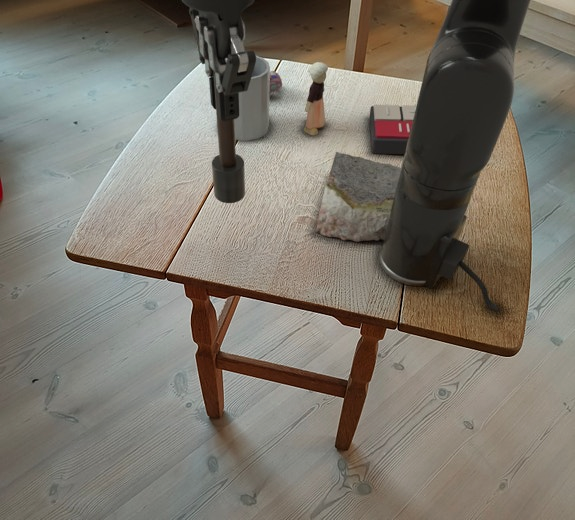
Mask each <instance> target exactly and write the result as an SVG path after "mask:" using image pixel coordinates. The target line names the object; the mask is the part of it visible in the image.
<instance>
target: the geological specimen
mask: <svg viewBox="0 0 575 520" xmlns="http://www.w3.org/2000/svg"><path fill="white" fill-rule="evenodd" d="M400 171H401V167H399V166H395V165H393V164H391V163H383V162H379V161H374V160H371V159H369V158H364V157H361V156H354V155H352V154H349V153H344V152H339V151H335V154H334V157H333V160H332V164H331V168H330V170H329V174H328V177H327V180H326V185H325V186H324V190H323V194H322V199H321V202H320V203H321V204H320V208H319V213H318V217H317V224H316V229H315V233H318V234H320V235H321V236H324V237H328V238H338V239H340V240H342V241H347V240H350V241H353V242H358V243H359V242H363V241H380V240H382V241H384V238H385V233H386V229H387V225H388V221H389V217H390V212H391V208H392V204H393V200H394V196H395V192H396V188H397V184H398V179H399V175H400Z"/></svg>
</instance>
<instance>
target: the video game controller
mask: <svg viewBox="0 0 575 520" xmlns="http://www.w3.org/2000/svg"><path fill="white" fill-rule="evenodd" d="M282 86H283V82H282V78H281V76H280V74H279V73H278V72H276V71H275V70H270V92H269V96H270V95H271V94H272V93H273V92H275V91H278V90H280V89H281V88H283V87H282Z"/></svg>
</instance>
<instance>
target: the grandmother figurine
mask: <svg viewBox="0 0 575 520" xmlns="http://www.w3.org/2000/svg"><path fill="white" fill-rule="evenodd" d="M328 68H329V66H328V65H327V64H326V63H325V62H319V61H317V62H313V63H312V64H311V66H310V67H309V68H308V69H307V72H308V73H309V76H310V78H311V80H312V83H311V84H310V86H309V91H308V96H307V98H306V103H305V107H304V111H305V112H306V113H307V114H306V120H305V127H304V129H303V132H304V133H306V134H308V135H310V136H317V135H318V134H319V130H318V129H321V128H323V127H324V126H325V125H326V115H325V114H326V111H325V104H324V103H325V102H324V93H325V81H326V79H327V72H328V70H329V69H328Z"/></svg>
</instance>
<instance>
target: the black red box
mask: <svg viewBox="0 0 575 520" xmlns="http://www.w3.org/2000/svg"><path fill="white" fill-rule="evenodd" d="M416 106H417V105H412V104H410V105H408V104H407V105H406V104H403V105H401V106H400V105H399V104H374V105H371V107H370V110H369V118H368V123H369V135H370V136H369V138H370V149H371V153H372V154H377V155H379V154H381V155H405V151H406V146H407V142H408V139H409V135H410V131H411V127H412V123H413V118H414V114H415V110H416Z"/></svg>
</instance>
